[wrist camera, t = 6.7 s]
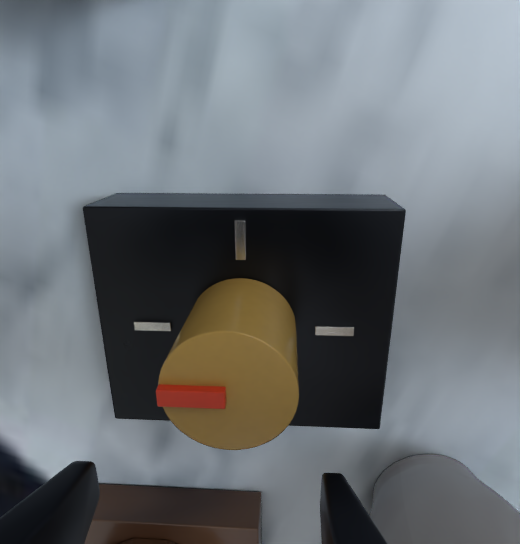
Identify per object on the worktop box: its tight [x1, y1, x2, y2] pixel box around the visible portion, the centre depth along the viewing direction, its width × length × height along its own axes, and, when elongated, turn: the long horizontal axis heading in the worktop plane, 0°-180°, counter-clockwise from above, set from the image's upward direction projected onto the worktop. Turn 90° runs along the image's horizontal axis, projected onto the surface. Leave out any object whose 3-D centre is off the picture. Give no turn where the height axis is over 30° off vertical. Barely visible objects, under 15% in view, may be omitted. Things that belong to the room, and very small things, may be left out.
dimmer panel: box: [83, 193, 406, 429], centre depth 17 cm, size 11×9×3 cm
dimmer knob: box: [156, 278, 299, 450], centre depth 13 cm, size 4×4×4 cm
